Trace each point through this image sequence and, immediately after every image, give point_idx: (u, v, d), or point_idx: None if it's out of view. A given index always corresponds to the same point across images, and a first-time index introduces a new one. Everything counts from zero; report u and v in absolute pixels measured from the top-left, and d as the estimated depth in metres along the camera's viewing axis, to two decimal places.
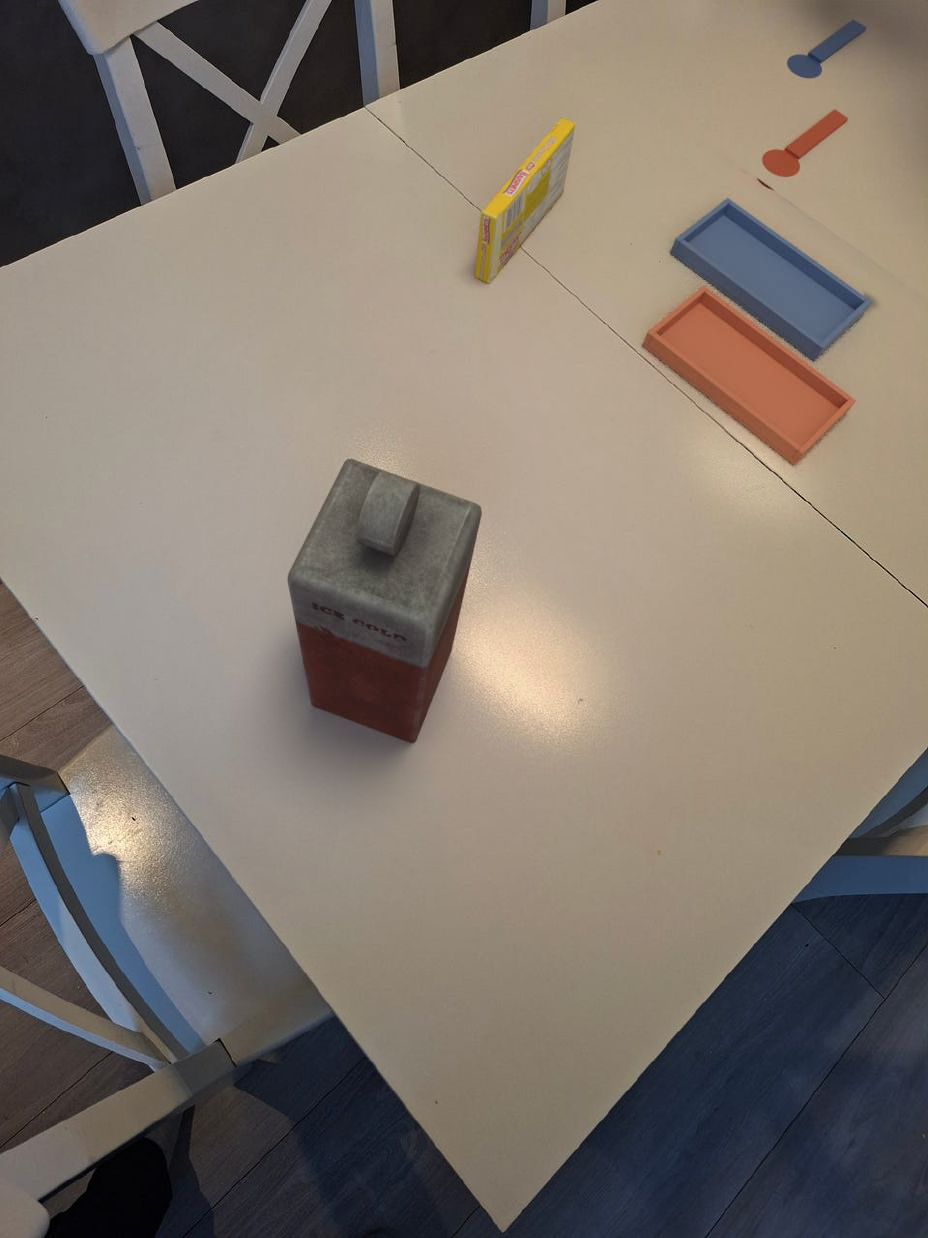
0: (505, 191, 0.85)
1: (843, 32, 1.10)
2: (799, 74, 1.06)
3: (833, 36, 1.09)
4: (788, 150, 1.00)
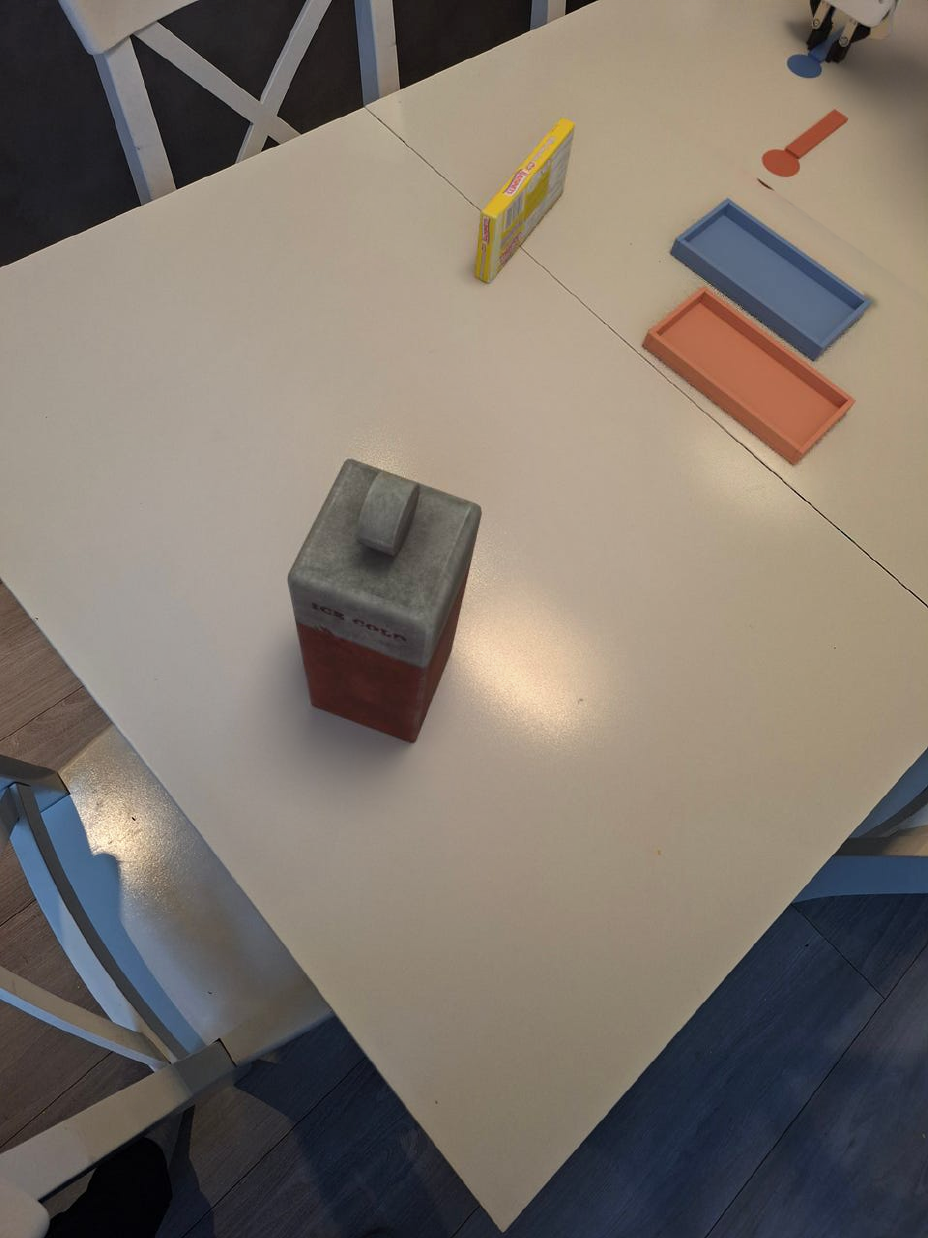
0: (505, 191, 0.85)
1: None
2: (799, 74, 1.06)
3: (834, 36, 1.09)
4: (788, 150, 1.00)
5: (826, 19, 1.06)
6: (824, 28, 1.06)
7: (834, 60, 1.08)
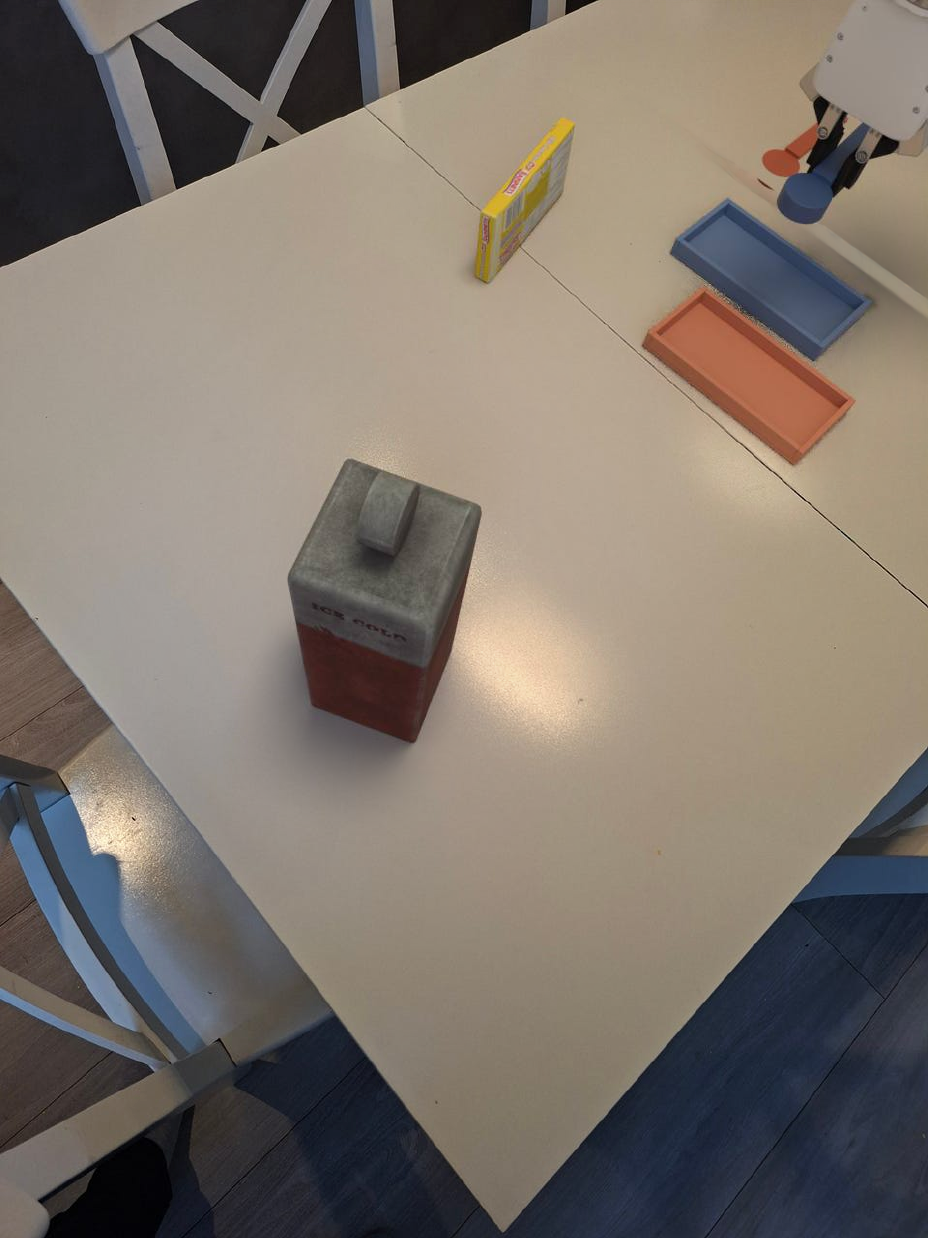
0: (505, 191, 0.85)
1: (856, 137, 0.82)
2: (804, 203, 0.78)
3: (844, 144, 0.81)
4: (788, 150, 1.00)
5: (836, 126, 0.78)
6: (833, 138, 0.79)
7: (848, 178, 0.80)
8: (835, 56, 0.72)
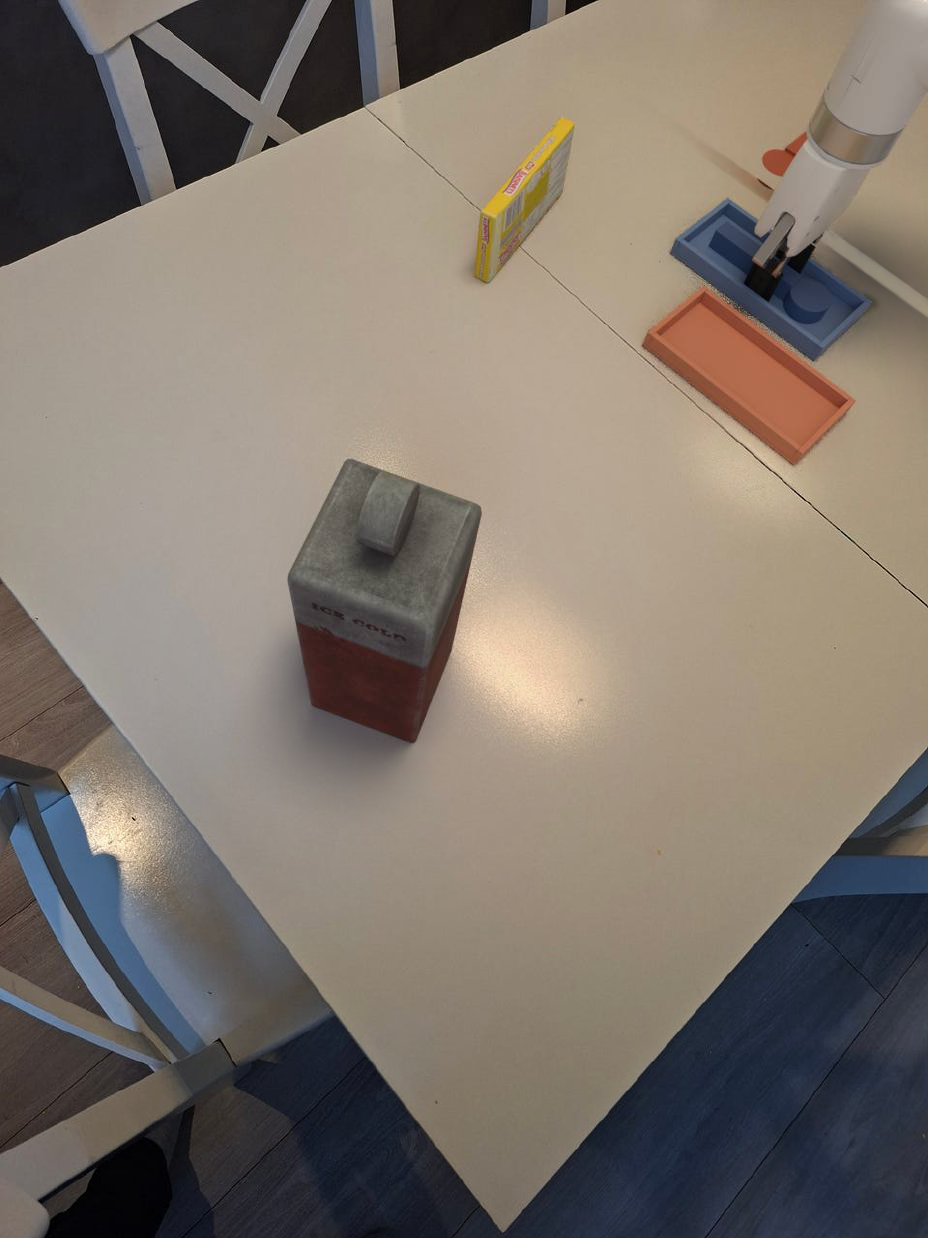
0: (505, 190, 0.85)
1: (744, 244, 0.93)
2: (828, 302, 0.91)
3: (754, 255, 0.92)
4: (788, 150, 1.00)
5: None
6: None
7: None
8: (812, 229, 0.82)
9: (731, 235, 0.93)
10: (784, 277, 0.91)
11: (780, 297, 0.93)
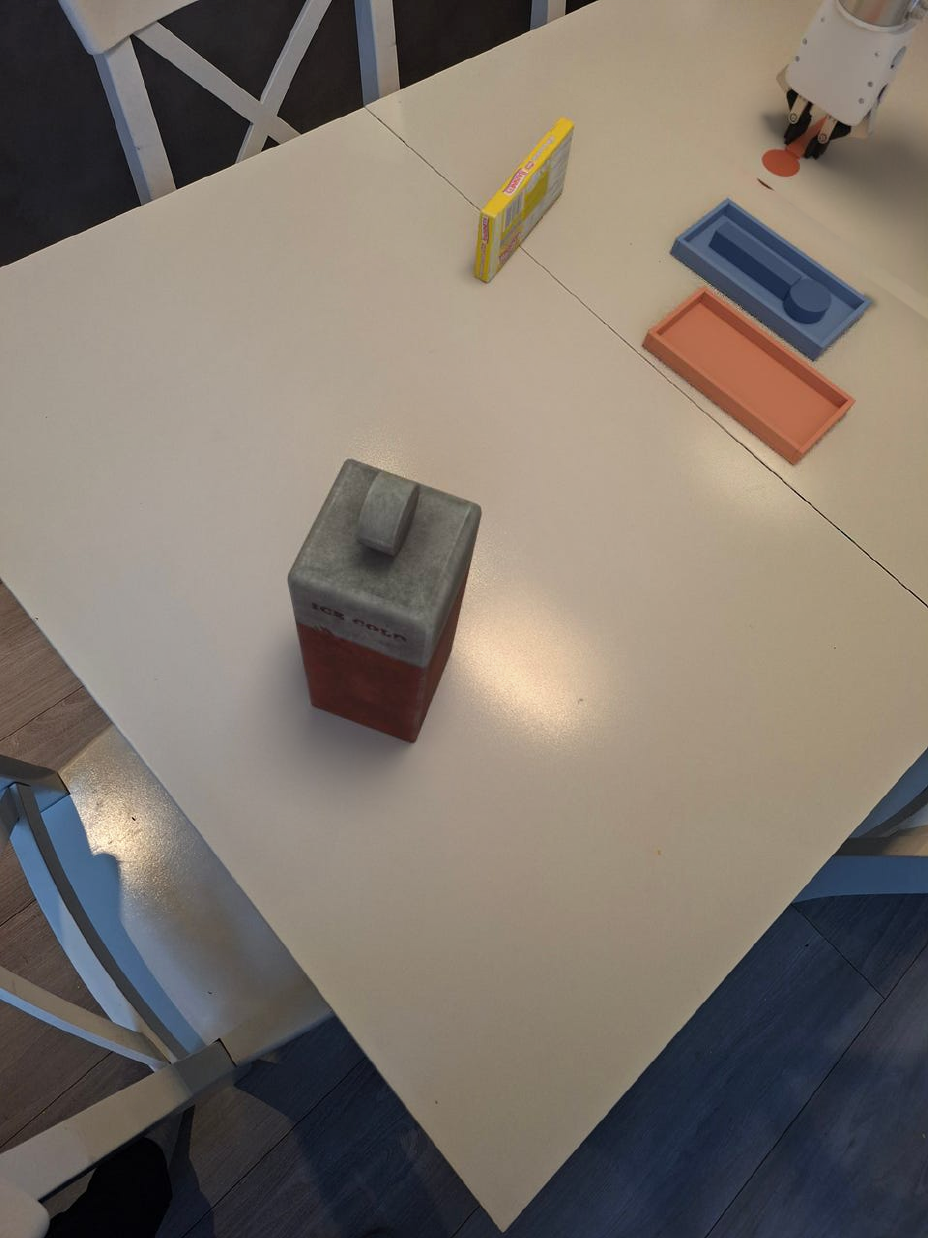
0: (504, 190, 0.85)
1: (744, 244, 0.93)
2: (828, 302, 0.91)
3: (754, 255, 0.92)
4: (788, 150, 1.00)
5: (804, 113, 0.99)
6: (802, 122, 0.99)
7: (813, 156, 1.00)
8: (801, 56, 0.93)
9: (731, 235, 0.93)
10: (784, 277, 0.91)
11: (780, 297, 0.93)
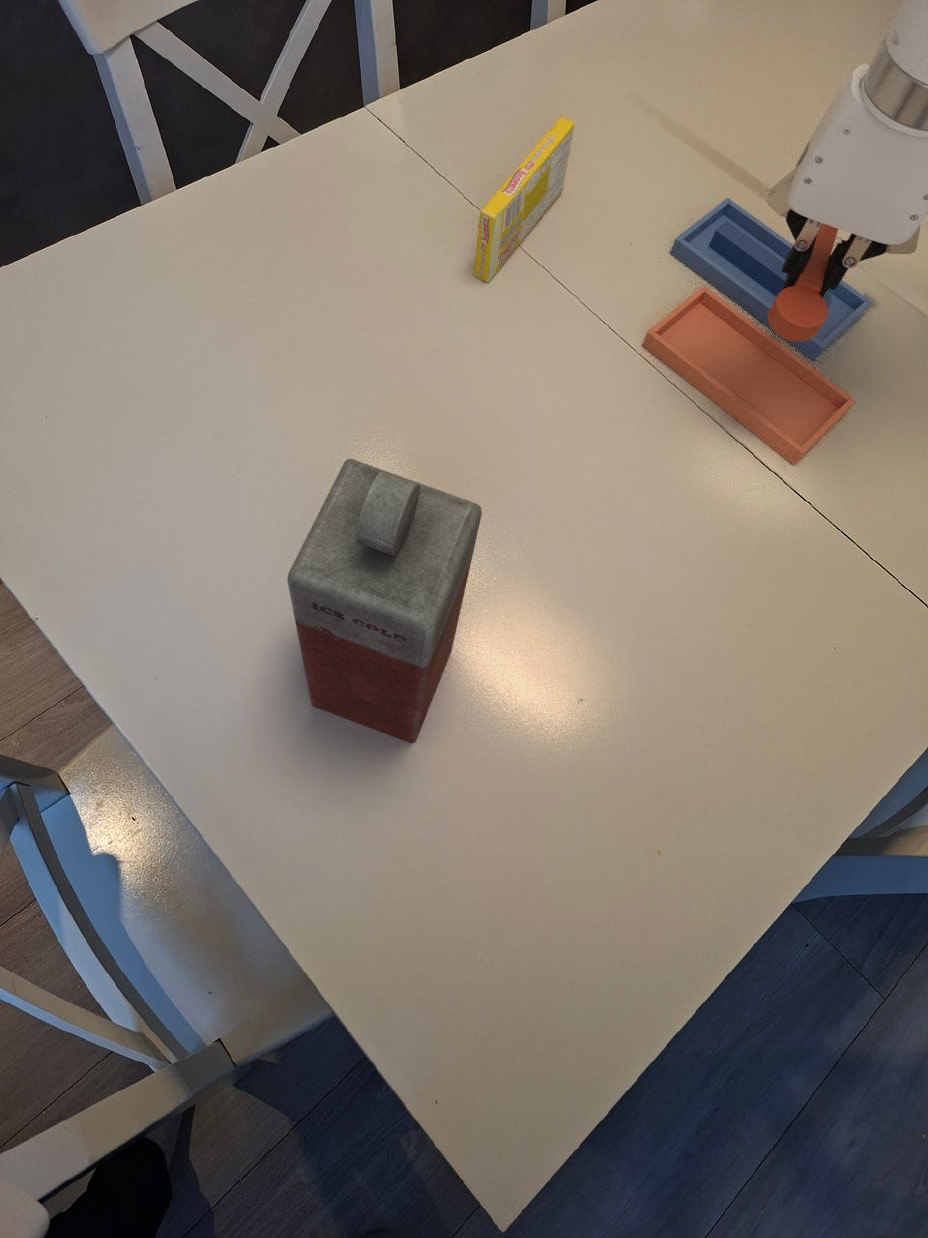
0: (504, 190, 0.85)
1: (744, 244, 0.93)
2: (828, 302, 0.91)
3: (754, 255, 0.92)
4: (802, 285, 0.74)
5: None
6: (812, 246, 0.73)
7: (834, 281, 0.75)
8: (814, 178, 0.66)
9: (731, 235, 0.93)
10: (784, 277, 0.91)
11: None
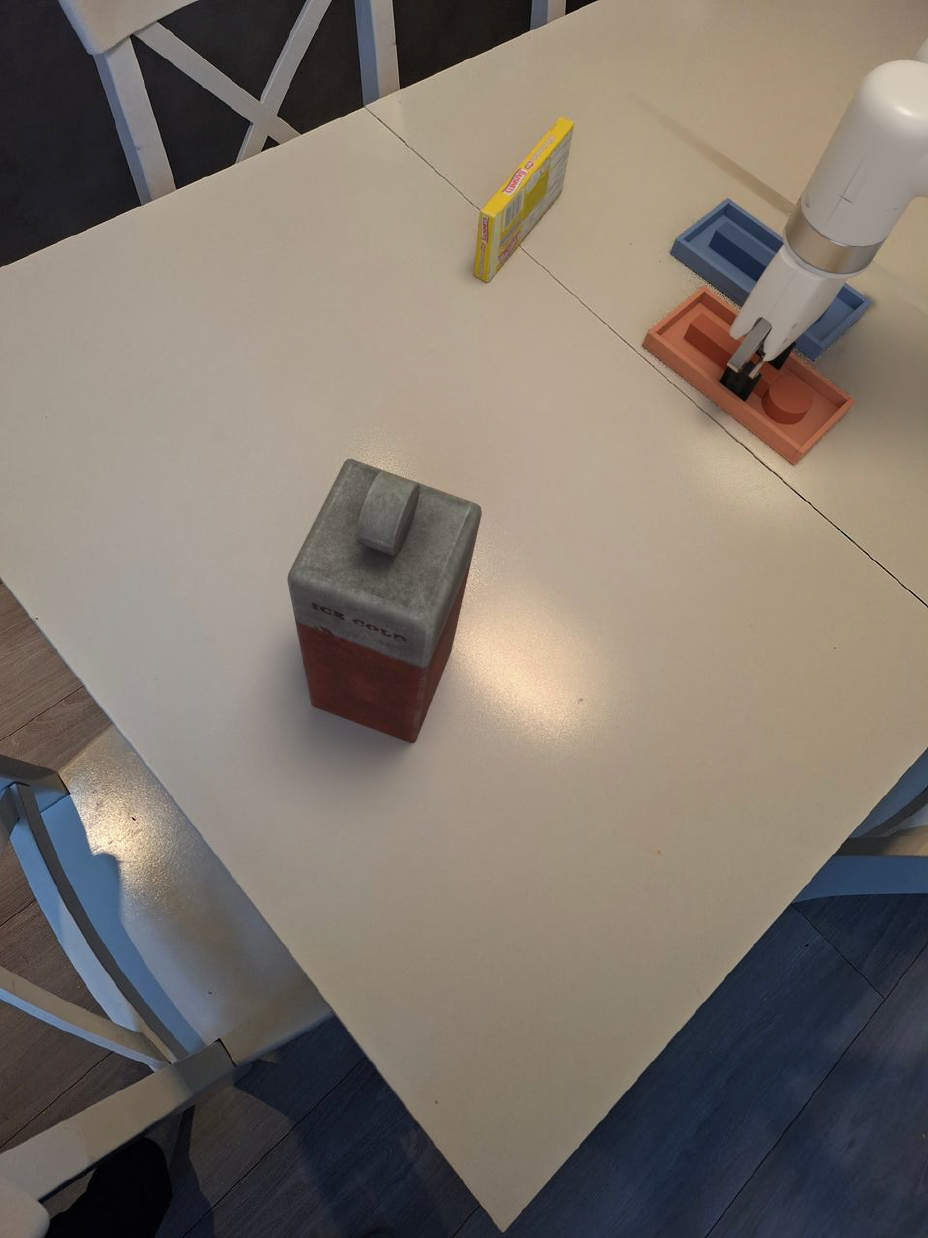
0: (504, 190, 0.85)
1: (744, 244, 0.93)
2: None
3: (754, 255, 0.92)
4: (772, 383, 0.86)
5: None
6: None
7: None
8: (790, 335, 0.77)
9: (731, 235, 0.93)
10: None
11: None
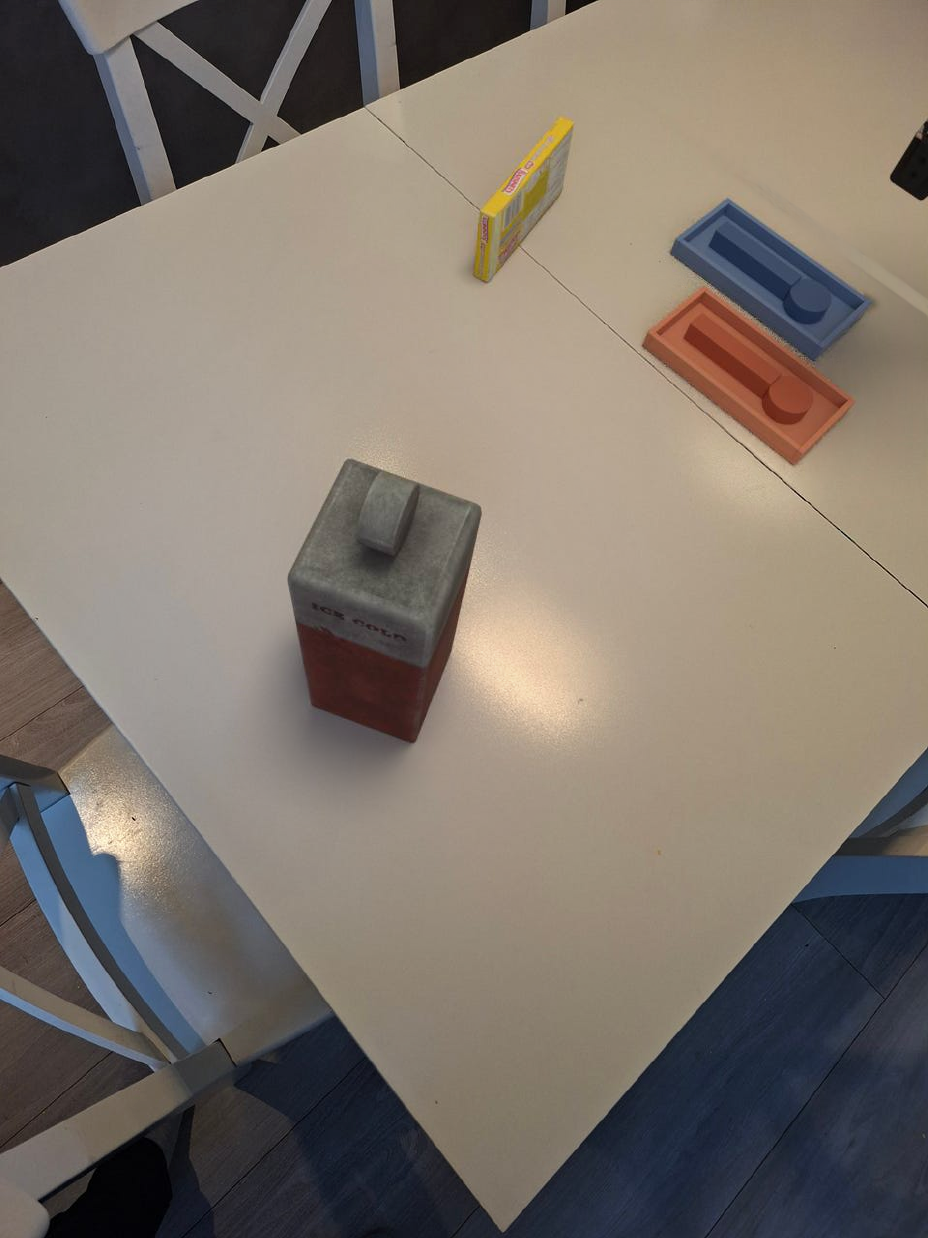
0: (504, 190, 0.85)
1: (744, 244, 0.93)
2: (828, 302, 0.91)
3: (754, 255, 0.92)
4: (772, 383, 0.86)
5: None
6: None
7: None
8: None
9: (731, 235, 0.93)
10: (784, 277, 0.91)
11: (780, 297, 0.93)
